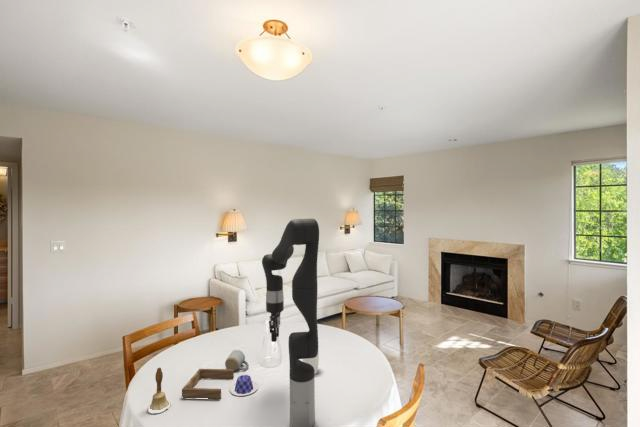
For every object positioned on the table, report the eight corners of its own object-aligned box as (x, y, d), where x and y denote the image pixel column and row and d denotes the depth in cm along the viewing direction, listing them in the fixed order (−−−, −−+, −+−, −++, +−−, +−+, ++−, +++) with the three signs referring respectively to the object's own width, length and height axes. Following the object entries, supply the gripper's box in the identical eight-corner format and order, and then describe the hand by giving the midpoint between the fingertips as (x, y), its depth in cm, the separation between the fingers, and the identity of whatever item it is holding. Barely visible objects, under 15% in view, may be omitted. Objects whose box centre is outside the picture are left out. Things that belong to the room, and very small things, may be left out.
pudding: (228, 385, 147) (228, 373, 147) (255, 380, 151) (255, 368, 151) (231, 400, 136) (231, 387, 136) (260, 394, 140) (260, 381, 140)
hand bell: (164, 399, 136) (163, 361, 136) (174, 407, 131) (173, 367, 131) (143, 409, 130) (142, 369, 129) (153, 417, 124) (152, 376, 124)
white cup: (317, 376, 153) (316, 355, 153) (300, 375, 155) (300, 354, 155) (320, 368, 161) (320, 348, 161) (304, 367, 163) (304, 347, 162)
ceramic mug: (224, 372, 158) (224, 356, 158) (230, 363, 166) (230, 348, 166) (245, 373, 157) (245, 357, 157) (250, 365, 165) (251, 350, 165)
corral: (220, 399, 135) (220, 390, 135) (182, 399, 136) (181, 389, 136) (233, 377, 153) (233, 369, 153) (199, 377, 154) (199, 368, 154)
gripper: (280, 304, 135) (280, 346, 135) (286, 295, 149) (286, 332, 149) (262, 304, 135) (262, 345, 135) (269, 295, 149) (270, 332, 150)
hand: (275, 338), depth 142 cm, fingers open, 4 cm apart
